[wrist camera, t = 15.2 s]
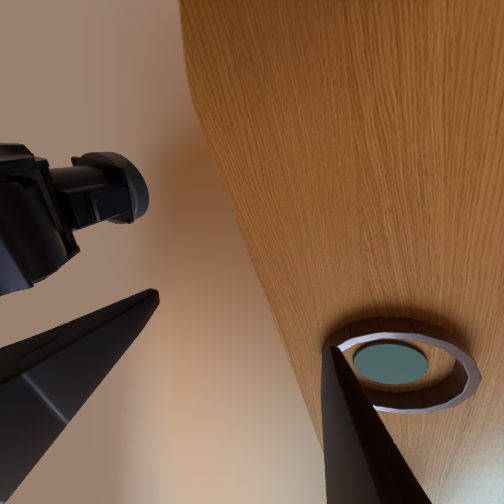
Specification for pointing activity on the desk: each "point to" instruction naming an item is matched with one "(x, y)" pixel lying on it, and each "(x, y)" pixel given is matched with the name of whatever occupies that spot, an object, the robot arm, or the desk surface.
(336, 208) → the desk surface
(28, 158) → the robot arm
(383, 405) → the hoop
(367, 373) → the pad
